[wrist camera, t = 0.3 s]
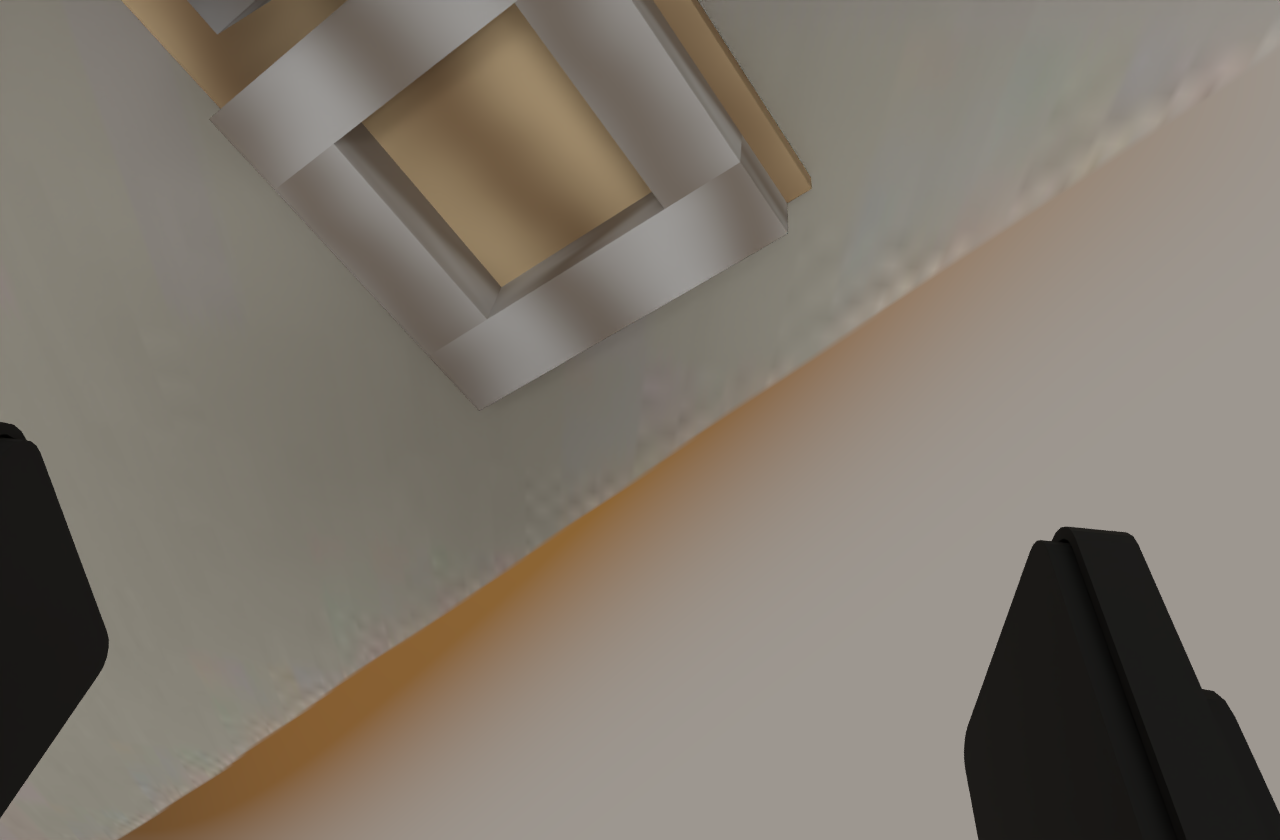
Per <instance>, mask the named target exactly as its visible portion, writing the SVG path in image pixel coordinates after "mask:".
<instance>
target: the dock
mask: <svg viewBox="0 0 1280 840" xmlns="http://www.w3.org/2000/svg"><path fill="white" fill-rule="evenodd" d="M121 1H122V2H123V3H124V4H125V5H126V6H127V7H128V8H129V9H130V10H131V11H132V13H133V14H134V15H135V16H136V17H137V18H138V19H139V20H140V21H141V22H142V23H143V25H144V26H145V27H146V28H147V29H148V30H149V31H150V32H151V33H152V34H153V35H154V37H155V38H156V39H157V40H158V41H159V42H160V43H161V44H162V45H163V46H164V47H165V49H166V50H167V51H168V52H169V53H170V54H171V55H172V56H173V57H174V58H175V59H176V61H177V62H178V63H179V64H180V65H181V66H182V67H183V68H184V69H185V70H186V72H187V73H188V74H189V75H190V76H191V77H192V78H193V79H194V80H195V81H196V82H197V84H198V85H199V86H200V87H201V88H202V89H203V90H204V91H205V92H206V93H207V94H208V96H209V97H210V98H211V99H212V100H213V101H214V102H215V103H216V104H217V105H218V106H219V108H220V110H219V111H218V112H216V113H215V114H214V115H213V116H212V117H211V118H209V120H210V121H211V122H212V123H213V124H214V125H215V126H216V127H217V129H218V130H219V131H220V132H221V133H222V134H223V135H224V136H225V137H226V138H227V139H228V140H229V141H230V143H231V144H232V145H233V146H234V147H235V148H236V149H237V150H238V151H239V152H240V153H241V154H242V155H243V157H244V158H245V159H246V160H247V161H248V162H249V163H250V164H251V165H252V166H253V167H254V168H255V170H256V171H257V172H258V173H259V174H260V175H261V176H262V177H263V178H264V179H265V180H266V181H267V182H268V184H269V185H270V186H271V187H272V188H273V189H274V190H275V191H276V192H277V193H278V194H279V195H280V197H281V198H282V199H283V200H284V201H285V202H286V203H287V204H288V205H289V206H290V207H291V208H292V209H293V211H294V212H295V213H296V214H297V215H298V216H299V217H300V218H301V219H302V220H303V221H304V222H305V224H306V225H307V226H308V227H309V228H310V229H311V230H312V231H313V232H314V233H315V234H316V235H317V236H318V238H319V239H320V240H321V241H322V242H323V243H324V244H325V245H326V246H327V247H328V248H329V249H330V250H331V252H332V253H333V254H334V255H335V256H336V257H337V258H338V259H339V260H340V261H341V262H342V263H343V265H344V266H345V267H346V268H347V269H348V270H349V271H350V272H351V273H352V274H353V275H354V276H355V277H356V279H357V280H358V281H359V282H360V283H361V284H362V285H363V286H364V287H365V288H366V289H367V290H368V292H369V293H370V294H371V295H372V296H373V297H374V298H375V299H376V300H377V301H378V302H379V303H380V304H381V306H382V307H383V308H384V309H385V310H386V311H387V312H388V313H389V314H390V315H391V316H392V317H393V319H394V320H395V321H396V322H397V323H398V324H399V325H400V326H401V327H402V328H403V329H404V330H405V331H406V333H407V334H408V335H409V336H410V337H411V338H412V339H413V340H414V341H415V342H416V343H417V344H418V345H419V347H420V348H421V349H422V350H423V351H424V352H425V353H426V354H427V355H428V356H429V357H430V358H431V360H432V361H433V362H434V363H435V364H436V365H437V366H438V367H439V368H440V369H441V370H442V371H443V372H444V374H445V375H446V376H447V377H448V378H449V379H450V380H451V381H452V382H453V383H454V384H455V385H456V387H457V388H458V389H459V390H460V391H461V392H462V393H463V394H464V395H465V396H466V397H467V398H468V399H469V401H470V402H471V403H472V404H473V405H474V406H475V407H476V408H477V409H478V410H479V411H480V410H482V409H484V408H485V407H487V406H489V405H491V404H492V403H494V402H496V401H498V400H499V399H501V398H503V397H505V396H506V395H508V394H510V393H512V392H513V391H515V390H517V389H519V388H520V387H522V386H524V385H525V384H527V383H529V382H531V381H532V380H534V379H536V378H538V377H539V376H541V375H543V374H545V373H546V372H548V371H550V370H552V369H553V368H555V367H557V366H559V365H560V364H562V363H564V362H565V361H567V360H569V359H571V358H572V357H574V356H576V355H578V354H579V353H581V352H583V351H585V350H586V349H588V348H590V347H592V346H593V345H595V344H597V343H599V342H600V341H602V340H604V339H605V338H607V337H609V336H611V335H612V334H614V333H616V332H618V331H619V330H621V329H623V328H625V327H626V326H628V325H630V324H632V323H633V322H635V321H637V320H639V319H640V318H642V317H644V316H646V315H647V314H649V313H651V312H652V311H654V310H656V309H658V308H659V307H661V306H663V305H665V304H666V303H668V302H670V301H672V300H673V299H675V298H677V297H679V296H680V295H682V294H684V293H686V292H687V291H689V290H691V289H692V288H694V287H696V286H698V285H699V284H701V283H703V282H705V281H706V280H708V279H710V278H712V277H713V276H715V275H717V274H719V273H720V272H722V271H724V270H726V269H727V268H729V267H731V266H733V265H734V264H736V263H738V262H739V261H741V260H743V259H745V258H746V257H748V256H750V255H752V254H753V253H755V252H757V251H759V250H760V249H762V248H764V247H766V246H767V245H769V244H771V243H773V242H774V241H776V240H778V239H779V238H781V237H783V236H785V235H786V234H788V213H787V203H788V202H790V201H792V200H793V199H795V198H797V197H798V196H800V195H802V194H804V193H805V192H807V191H809V190H810V189H812V185H811V177H810V175H809V174H808V172H807V171H806V169H805V168H804V166H803V164H802V163H801V161H800V160H799V158H798V157H797V155H796V154H795V152H794V150H793V149H792V147H791V146H790V144H789V143H788V141H787V139H786V138H785V136H784V135H783V133H782V132H781V130H780V129H779V127H778V125H777V124H776V122H775V121H774V119H773V118H772V116H771V114H770V113H769V111H768V110H767V108H766V107H765V105H764V104H763V102H762V100H761V99H760V97H759V96H758V94H757V93H756V91H755V89H754V88H753V86H752V85H751V83H750V82H749V80H748V79H747V77H746V75H745V74H744V72H743V71H742V69H741V68H740V66H739V64H738V63H737V61H736V60H735V58H734V57H733V55H732V53H731V52H730V50H729V49H728V47H727V46H726V44H725V43H724V41H723V39H722V38H721V36H720V35H719V33H718V32H717V30H716V28H715V27H714V25H713V24H712V22H711V21H710V19H709V18H708V16H707V14H706V13H705V11H704V10H703V8H702V7H701V5H700V3H699V2H698V0H121Z"/></svg>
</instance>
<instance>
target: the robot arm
mask: <svg viewBox="0 0 1280 840" xmlns="http://www.w3.org/2000/svg"><path fill="white" fill-rule="evenodd" d="M108 648H109V639H108V634H107V631H106V628H105V625H104V622H103V620H102V617H101V614H100V612H99V609H98V606H97V604H96V601H95V598H94V596H93V593H92V590H91V588H90V585H89V582H88V579H87V577H86V574H85V571H84V569H83V566H82V563H81V561H80V558H79V555H78V553H77V550H76V547H75V544H74V542H73V539H72V536H71V534H70V531H69V528H68V526H67V523H66V520H65V518H64V515H63V512H62V509H61V507H60V504H59V501H58V499H57V496H56V493H55V491H54V488H53V485H52V483H51V480H50V477H49V475H48V472H47V469H46V466H45V464H44V461H43V458H42V456H41V453H40V451H39V449H38V448H37V446H36V445H35V444H34V443H32V442H31V441H27V440H26V439H25V437H24V435H23V433H22V431H20V430H19V429H18V428H17V427H16V426H15V425H12V424H8V423H3V422H0V818H1V816H2V815H3V813H4V812H5V810H6V809H7V807H8V806H9V804H10V803H11V802H12V800H13V799H14V797H15V796H16V794H17V793H18V791H19V790H20V788H21V787H22V786H23V784H24V783H25V781H26V780H27V778H28V777H29V775H30V774H31V772H32V771H33V769H34V768H35V767H36V765H37V764H38V762H39V761H40V759H41V758H42V756H43V755H44V753H45V752H46V751H47V749H48V748H49V746H50V745H51V743H52V742H53V740H54V739H55V737H56V736H57V735H58V733H59V732H60V730H61V729H62V727H63V726H64V724H65V723H66V721H67V720H68V718H69V717H70V716H71V714H72V713H73V711H74V710H75V708H76V707H77V705H78V704H79V702H80V701H81V700H82V698H83V697H84V695H85V694H86V692H87V691H88V689H89V688H90V686H91V685H92V683H93V682H94V681H95V679H96V678H97V676H98V675H99V673H100V671H101V670H102V668H103V666H104V663H105V661H106V658H107V653H108ZM964 760H965V761H964V762H965V770H966V775H967V781H968V786H969V791H970V797H971V802H972V807H973V813H974V818H975V823H976V829H977V834H978V839H979V840H1280V814H1279V811H1278V809H1277V807H1276V805H1275V803H1274V801H1273V798H1272V796H1271V794H1270V792H1269V790H1268V788H1267V785H1266V783H1265V781H1264V779H1263V776H1262V774H1261V772H1260V770H1259V768H1258V766H1257V763H1256V761H1255V759H1254V757H1253V755H1252V753H1251V751H1250V748H1249V746H1248V744H1247V742H1246V740H1245V737H1244V735H1243V733H1242V731H1241V729H1240V727H1239V724H1238V722H1237V720H1236V718H1235V716H1234V715H1233V713H1232V711H1231V710H1230V708H1229V706H1228V705H1227V703H1226V701H1225V700H1224V699H1222V698H1221V697H1220V696H1219V695H1218V694H1216V693H1215V692H1214V691H1210V690H1204V689H1202V688H1201V686H1200V684H1199V682H1198V679H1197V677H1196V675H1195V672H1194V670H1193V668H1192V665H1191V663H1190V661H1189V659H1188V656H1187V654H1186V652H1185V650H1184V647H1183V645H1182V643H1181V641H1180V638H1179V636H1178V634H1177V632H1176V629H1175V627H1174V625H1173V622H1172V620H1171V618H1170V616H1169V613H1168V611H1167V609H1166V606H1165V604H1164V602H1163V600H1162V597H1161V595H1160V593H1159V590H1158V588H1157V586H1156V584H1155V581H1154V579H1153V577H1152V575H1151V572H1150V570H1149V568H1148V565H1147V563H1146V561H1145V559H1144V557H1143V554H1142V552H1141V550H1140V547H1139V545H1138V543H1137V542H1136V540H1135V539H1134V537H1133V536H1132V535H1130V534H1128V533H1126V532H1116V531H1106V530H1095V529H1085V528H1075V527H1062V528H1060V529H1059V530H1058V531H1057V532H1056V533H1055V535H1054V537H1053V539H1052V541H1043V540H1040V541H1036V542H1035V544H1034V545H1033V546H1032V549H1031V551H1030V553H1029V556H1028V559H1027V562H1026V564H1025V567H1024V570H1023V573H1022V576H1021V578H1020V582H1019V584H1018V587H1017V590H1016V592H1015V596H1014V598H1013V601H1012V604H1011V607H1010V609H1009V612H1008V615H1007V618H1006V620H1005V623H1004V626H1003V629H1002V632H1001V634H1000V637H999V640H998V643H997V646H996V648H995V651H994V654H993V657H992V660H991V662H990V665H989V668H988V671H987V674H986V676H985V680H984V682H983V685H982V688H981V690H980V693H979V696H978V699H977V702H976V705H975V707H974V710H973V713H972V716H971V719H970V721H969V724H968V727H967V731H966V736H965V745H964Z"/></svg>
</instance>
